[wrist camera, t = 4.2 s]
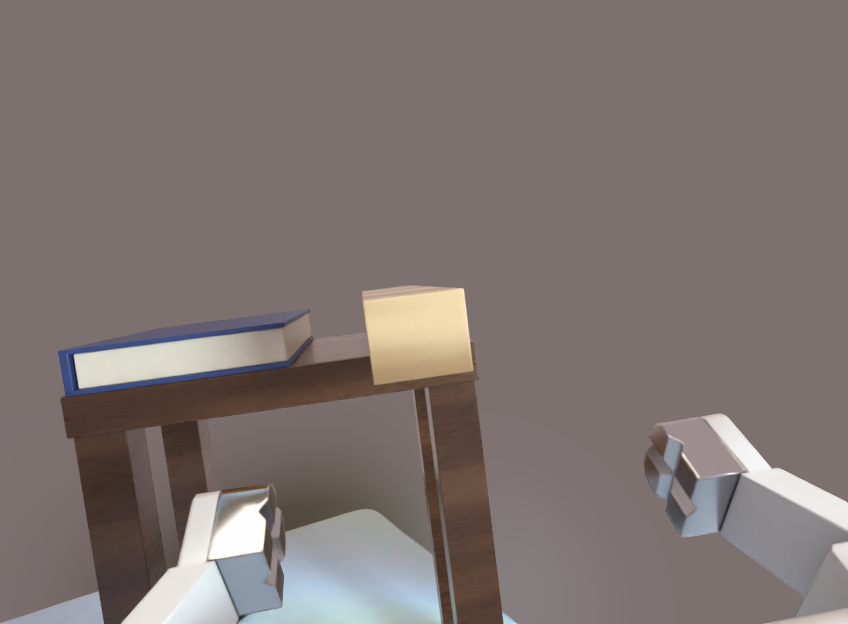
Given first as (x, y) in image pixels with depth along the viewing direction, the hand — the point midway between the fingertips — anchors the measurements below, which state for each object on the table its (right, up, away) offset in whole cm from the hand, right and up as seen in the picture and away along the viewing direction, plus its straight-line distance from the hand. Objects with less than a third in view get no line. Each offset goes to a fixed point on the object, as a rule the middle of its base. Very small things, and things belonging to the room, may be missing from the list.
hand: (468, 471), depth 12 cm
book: (-13, 0, +23) cm, 26 cm away
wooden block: (-2, +2, +20) cm, 20 cm away
